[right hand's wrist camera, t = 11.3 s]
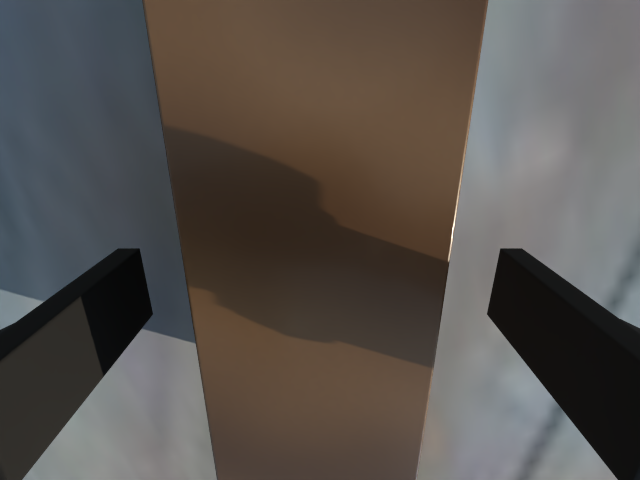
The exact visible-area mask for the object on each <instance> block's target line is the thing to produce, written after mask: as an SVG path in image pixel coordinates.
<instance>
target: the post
mask: <svg viewBox="0 0 640 480" xmlns="http://www.w3.org/2000/svg"><path fill="white" fill-rule="evenodd" d="M142 1H143V8H144V14H145V21H146V27H147V33H148V40H149V46H150V53H151V59H152V65H153V72H154V78H155V85H156V91H157V97H158V104H159V110H160V117H161V123H162V129H163V136H164V142H165V149H166V155H167V162H168V168H169V174H170V181H171V187H172V194H173V200H174V206H175V213H176V219H177V226H178V232H179V238H180V245H181V251H182V258H183V264H184V270H185V277H186V283H187V290H188V296H189V302H190V309H191V315H192V322H193V328H194V334H195V341H196V347H197V354H198V360H199V367H200V373H201V379H202V386H203V392H204V399H205V405H206V411H207V418H208V424H209V431H210V437H211V443H212V450H213V456H214V463H215V469H216V475H217V480H417V476H418V469H419V462H420V456H421V449H422V442H423V436H424V429H425V422H426V415H427V409H428V402H429V395H430V389H431V382H432V375H433V368H434V362H435V355H436V348H437V341H438V335H439V328H440V321H441V315H442V308H443V301H444V294H445V288H446V281H447V274H448V267H449V261H450V254H451V247H452V241H453V234H454V227H455V220H456V214H457V207H458V200H459V193H460V187H461V180H462V173H463V167H464V160H465V153H466V146H467V140H468V133H469V126H470V120H471V113H472V106H473V99H474V93H475V86H476V79H477V72H478V66H479V59H480V52H481V46H482V39H483V32H484V25H485V19H486V12H487V5H488V0H142Z"/></svg>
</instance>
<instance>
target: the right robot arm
mask: <svg viewBox="0 0 640 480" xmlns="http://www.w3.org/2000/svg"><path fill="white" fill-rule="evenodd" d="M152 315H153V312H152V307H151V302H150V298H149V293H148V288H147V283H146V278H145V273H144V268H143V263H142V258H141V254H140V249H117V250H115V251H114V252H113V253H111V254H110V255H109V256H107V257H106V258H104V259H103V260H102V261H100V262H99V263H97V264H96V265H95V266H93V267H92V268H91V269H89V270H88V271H86V272H85V273H84V274H82V275H81V276H79V277H78V278H77V279H75V280H74V281H72V282H71V283H70V284H68V285H67V286H66V287H64V288H63V289H61V290H60V291H59V292H57V293H56V294H54V295H53V296H52V297H50V298H49V299H48V300H46V301H45V302H43V303H42V304H41V305H39V306H38V307H36V308H35V309H34V310H32V311H31V312H30V313H28V314H27V315H25V316H24V317H23V318H21V319H20V320H18V321H17V322H16V323H14V324H12V325H9V326H7V327H5V328H3V329H1V330H0V480H22V479H23V478H24V477H25V475H26V474H27V473H28V471H29V470H30V469H31V468H32V466H33V465H34V464H35V463H36V461H37V460H38V459H39V458H40V456H41V455H42V454H43V452H44V451H45V450H46V449H47V447H48V446H49V445H50V444H51V442H52V441H53V440H54V439H55V437H56V436H57V435H58V434H59V432H60V431H61V430H62V428H63V427H64V426H65V425H66V423H67V422H68V421H69V420H70V418H71V417H72V416H73V415H74V413H75V412H76V411H77V410H78V408H79V407H80V406H81V404H82V403H83V402H84V401H85V399H86V398H87V397H88V396H89V394H90V393H91V392H92V391H93V389H94V388H95V387H96V386H97V384H98V383H99V382H100V380H101V379H102V378H103V377H104V375H105V374H106V373H107V372H108V370H109V369H110V368H111V367H112V365H113V364H114V363H115V361H116V360H117V359H118V358H119V356H120V355H121V354H122V353H123V351H124V350H125V349H126V348H127V346H128V345H129V344H130V343H131V341H132V340H133V339H134V337H135V336H136V335H137V334H138V332H139V331H140V330H141V329H142V327H143V326H144V325H145V324H146V322H147V321H148V320H149V319H150V317H151V316H152ZM487 315H488V316H489V317H490V319H491V320H492V321H493V322H494V324H495V325H496V326H497V327H498V329H499V330H500V331H501V332H502V334H503V335H504V336H505V337H506V339H507V340H508V341H509V343H510V344H511V345H512V346H513V348H514V349H515V350H516V351H517V353H518V354H519V355H520V356H521V358H522V359H523V360H524V361H525V363H526V364H527V365H528V367H529V368H530V369H531V370H532V372H533V373H534V374H535V375H536V377H537V378H538V379H539V380H540V382H541V383H542V384H543V386H544V387H545V388H546V389H547V391H548V392H549V393H550V394H551V396H552V397H553V398H554V399H555V401H556V402H557V403H558V404H559V406H560V407H561V408H562V410H563V411H564V412H565V413H566V415H567V416H568V417H569V418H570V420H571V421H572V422H573V423H574V425H575V426H576V427H577V428H578V430H579V431H580V432H581V434H582V435H583V436H584V437H585V439H586V440H587V441H588V442H589V444H590V445H591V446H592V447H593V449H594V450H595V451H596V453H597V454H598V455H599V456H600V458H601V459H602V460H603V461H604V463H605V464H606V465H607V466H608V468H609V469H610V470H611V471H612V473H613V474H614V475H615V477H616V478H617V479H618V480H640V328H638V327H636V326H634V325H632V324H630V323H627V322H625V321H623V320H621V319H619V318H617V317H616V316H615V315H613V314H612V313H610V312H609V311H608V310H606V309H605V308H604V307H602V306H601V305H599V304H598V303H597V302H595V301H594V300H592V299H591V298H590V297H588V296H587V295H586V294H584V293H583V292H581V291H580V290H579V289H577V288H576V287H574V286H573V285H572V284H570V283H569V282H568V281H566V280H565V279H563V278H562V277H561V276H559V275H558V274H556V273H555V272H554V271H552V270H551V269H549V268H548V267H547V266H545V265H544V264H543V263H541V262H540V261H538V260H537V259H536V258H534V257H533V256H531V255H530V254H529V253H527V252H526V251H525V250H523V249H500V253H499V258H498V263H497V268H496V273H495V278H494V283H493V288H492V293H491V298H490V302H489V307H488V312H487Z"/></svg>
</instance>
